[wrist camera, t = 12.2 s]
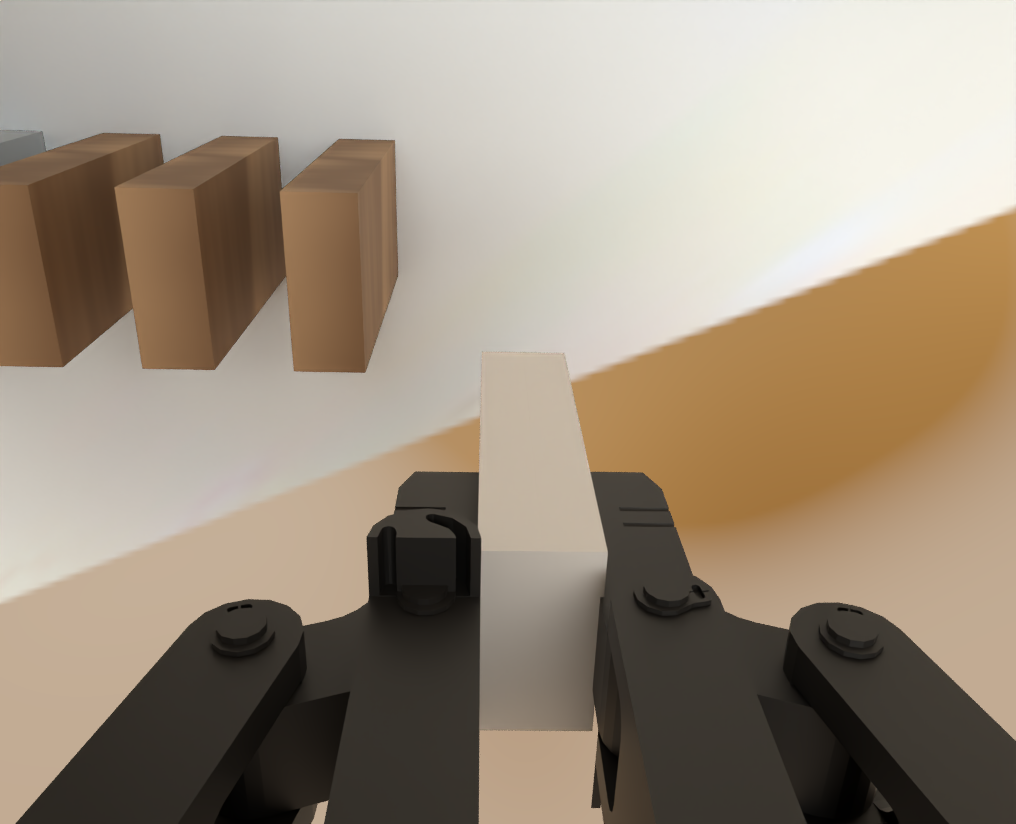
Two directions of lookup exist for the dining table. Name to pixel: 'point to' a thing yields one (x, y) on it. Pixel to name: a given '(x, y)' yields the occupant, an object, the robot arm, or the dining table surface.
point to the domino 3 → (202, 249)
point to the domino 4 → (340, 254)
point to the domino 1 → (20, 145)
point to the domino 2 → (65, 246)
